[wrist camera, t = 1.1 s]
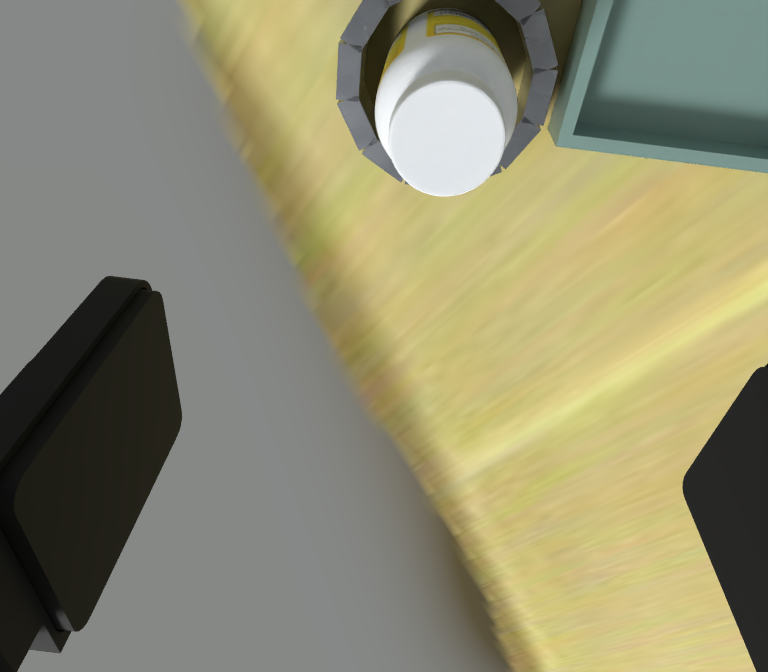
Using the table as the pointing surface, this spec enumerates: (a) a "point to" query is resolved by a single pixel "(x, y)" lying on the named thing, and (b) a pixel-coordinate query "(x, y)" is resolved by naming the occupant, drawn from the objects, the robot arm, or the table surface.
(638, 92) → the tray
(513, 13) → the collar
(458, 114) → the supplement bottle
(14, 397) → the robot arm
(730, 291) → the table surface
